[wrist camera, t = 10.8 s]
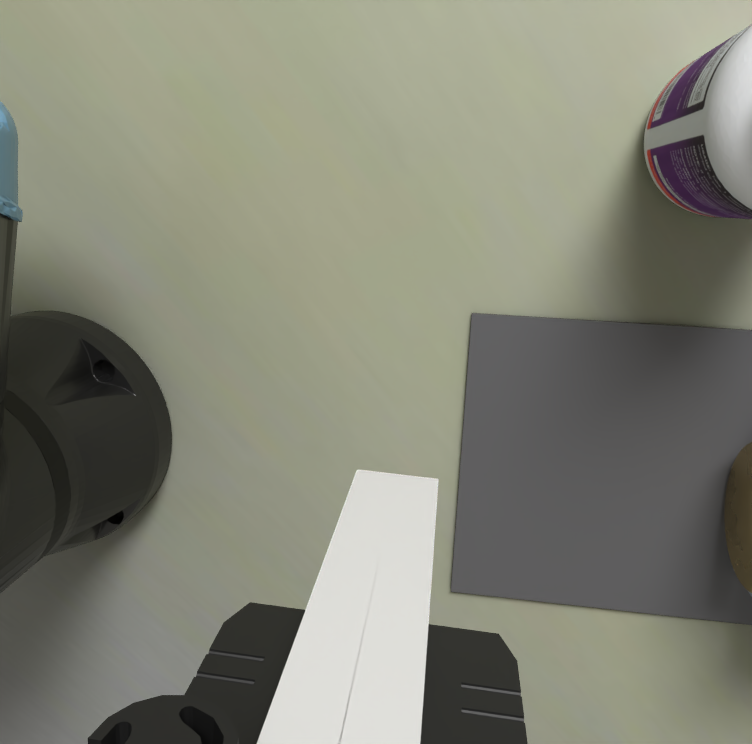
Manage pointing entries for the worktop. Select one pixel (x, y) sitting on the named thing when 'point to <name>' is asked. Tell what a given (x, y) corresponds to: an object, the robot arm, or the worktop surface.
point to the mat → (602, 464)
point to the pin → (740, 516)
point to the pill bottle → (706, 133)
